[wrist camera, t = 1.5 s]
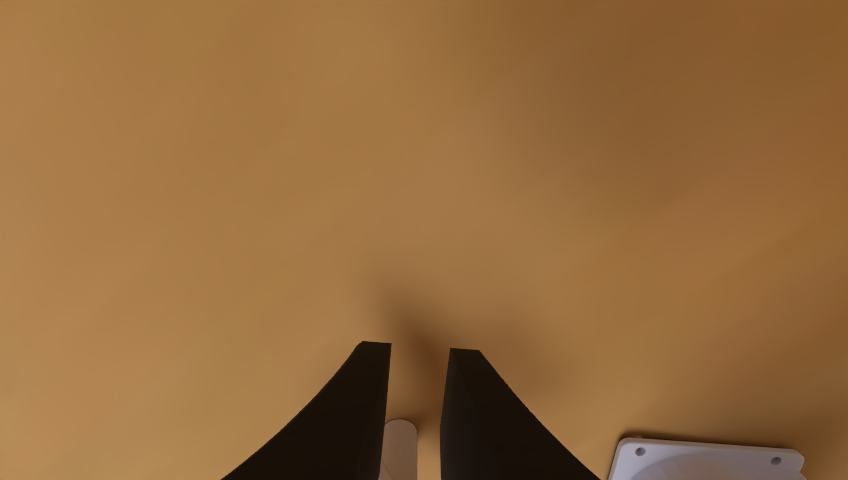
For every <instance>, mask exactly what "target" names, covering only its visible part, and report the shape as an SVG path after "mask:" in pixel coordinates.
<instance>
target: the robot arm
mask: <svg viewBox="0 0 848 480" xmlns="http://www.w3.org/2000/svg"><path fill="white" fill-rule="evenodd" d="M391 344H392V343H380V342H368V341H362V342H361V343H360V344H358V345H357V346H356V348H355V349H354V351H353V352H352V353H351V355H350V356H349V357H348V359H347V360H346V361H345V363H344V364H343V365H342V366H341V368H340V369H339V370H338V371H337V372H336V374H335V375H334V376H333V377H332V378H331V379H330V380H329V382H328V383H327V384H326V385H325V386H324V387H323V388H322V389H321V390H320V392H319V393H318V394H317V395H316V396H315V397H314V398H313V399H312V400H311V401H310V402H309V403H308V404H307V405H306V406H305V407H304V408H303V409H302V410H301V411H300V412H299V413H298V414H297V415H296V416H295V417H294V418H293V419H292V420H291V421H290V422H289V423H288V424H287V425H286V426H285V427H284V428H283V429H282V430H280V431H279V432H278V433H277V434H276V435H275V436H274V437H273V438H272V439H270V440H269V441H268V442H267V443H266V444H265V445H264V446H262V447H261V448H260V449H259V450H258V451H257V452H255V453H254V454H253V455H252V456H250V457H249V458H248V459H247V460H246V461H244V462H243V463H242V464H241V465H239V466H238V467H237V468H236V469H234V470H233V471H232V472H231V473H229V474H228V475H226V476H225V477H224V478H222V479H221V480H378V479H379V474H380V466H381V456H382V447H383V437H384V427H385V416H386V404H387V392H388V380H389V368H390V356H391ZM638 448H640V449H638ZM636 449H638V450H636ZM440 458H441V480H600V479H599V478H598V477H597V476H596V475H595V474H593V473H592V472H591V471H590V470H589V469H588V468H586V467H585V466H584V465H583V464H582V463H581V462H580V461H579V460H578V459H577V458H576V457H575V456H573V455H572V454H571V453H570V452H569V451H568V450H567V449H566V448H565V447H564V446H563V445H562V444H561V443H560V442H559V441H558V440H557V439H556V438H555V437H554V436H553V435H552V434H551V433H550V432H549V431H548V430H547V429H546V428H545V427H544V426H543V425H542V424H541V422H540V421H539V420H538V419H537V418H536V417H535V416H534V415H533V414H532V413H531V412H530V411H529V409H528V408H527V407H526V406H525V405H524V404H523V403H522V402H521V400H520V399H519V398H518V397H517V396H516V395H515V394H514V392H513V391H512V390H511V389H510V388H509V386H508V385H507V384H506V383H505V382H504V380H503V379H502V378H501V377H500V375H499V374H498V373H497V372H496V370H495V369H494V368H493V367H492V365H491V364H490V363H489V362H488V361H487V359H486V358H485V357H484V356H483V354H482V353H481V352H480V351H479V350H469V349H457V348H450V355H449V362H448V370H447V378H446V386H445V393H444V401H443V409H442V417H441V424H440ZM804 460H805V459H804V457H803V456H802V455H801V454H800V453H799V452H798V451H797V450H794V449H782V448H768V447H754V446H740V445H726V444H712V443H698V442H684V441H670V440H656V439H642V438H624V439H622V440H621V441H620V442H619V444H618V446H617V450H616V453H615V457H614V460H613V464H612V468H611V471H610V475H609V478H608V480H807V479H806V478H805V477H804V476H803V475H802V474H801V473H800V471H801V469H802V466H803V464H804Z"/></svg>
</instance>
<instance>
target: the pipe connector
mask: <svg viewBox="0 0 848 480" xmlns="http://www.w3.org/2000/svg"><path fill="white" fill-rule="evenodd" d="M378 480H417V430H416V427H415V426H414V425H413V424H412V423H411V422H409V421H407V420H403V419H396V420H392V421H390V422H388V423H387V424H386V425H385V427H384V437H383V447H382V456H381V466H380V474H379V479H378Z"/></svg>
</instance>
